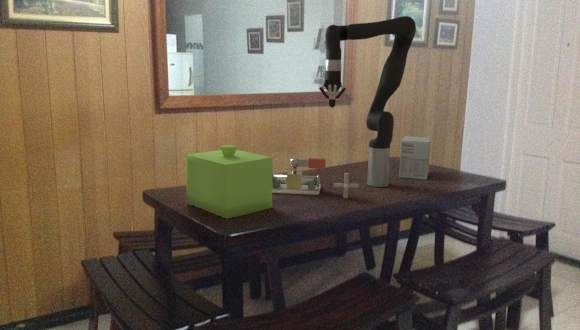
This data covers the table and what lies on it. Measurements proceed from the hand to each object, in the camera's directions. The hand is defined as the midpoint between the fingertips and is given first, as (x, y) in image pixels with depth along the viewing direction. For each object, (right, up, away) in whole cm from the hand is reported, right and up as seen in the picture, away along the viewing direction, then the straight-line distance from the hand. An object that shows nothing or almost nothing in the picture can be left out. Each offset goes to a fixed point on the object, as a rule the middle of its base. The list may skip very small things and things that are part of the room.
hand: (332, 107), depth 237 cm
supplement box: (+41, -32, +12) cm, 54 cm away
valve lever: (-12, -28, -23) cm, 39 cm away
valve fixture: (-18, -38, -21) cm, 47 cm away
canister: (-43, -43, -46) cm, 76 cm away
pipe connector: (+3, -40, -31) cm, 51 cm away
